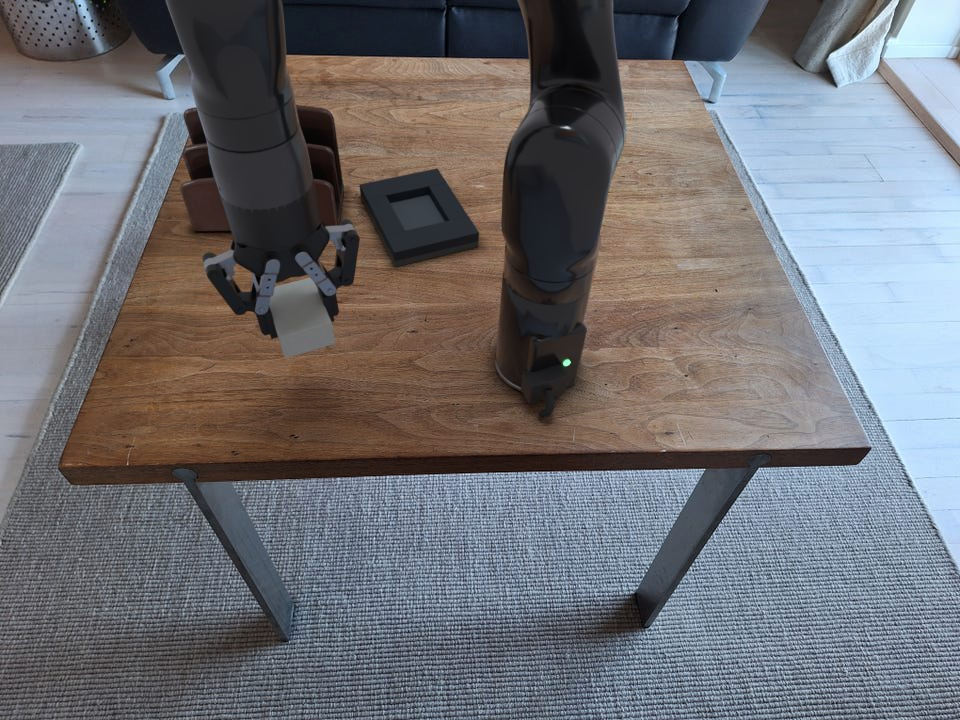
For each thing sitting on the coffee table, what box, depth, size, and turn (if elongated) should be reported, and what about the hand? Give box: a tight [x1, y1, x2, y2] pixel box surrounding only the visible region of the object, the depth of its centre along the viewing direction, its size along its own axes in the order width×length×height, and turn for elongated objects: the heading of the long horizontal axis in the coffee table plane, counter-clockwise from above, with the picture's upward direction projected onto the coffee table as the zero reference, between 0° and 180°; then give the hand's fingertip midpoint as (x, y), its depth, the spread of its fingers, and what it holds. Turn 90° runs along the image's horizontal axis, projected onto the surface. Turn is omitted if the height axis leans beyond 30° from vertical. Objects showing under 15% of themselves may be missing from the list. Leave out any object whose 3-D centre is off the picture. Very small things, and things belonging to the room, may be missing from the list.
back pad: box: [359, 168, 480, 268], centre depth 98 cm, size 16×12×2 cm
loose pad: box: [269, 277, 337, 359], centre depth 68 cm, size 7×5×3 cm
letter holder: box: [179, 104, 345, 232], centre depth 94 cm, size 10×20×14 cm, turn 93°
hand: (301, 324), depth 69 cm, fingers closed on loose pad, 5 cm apart
